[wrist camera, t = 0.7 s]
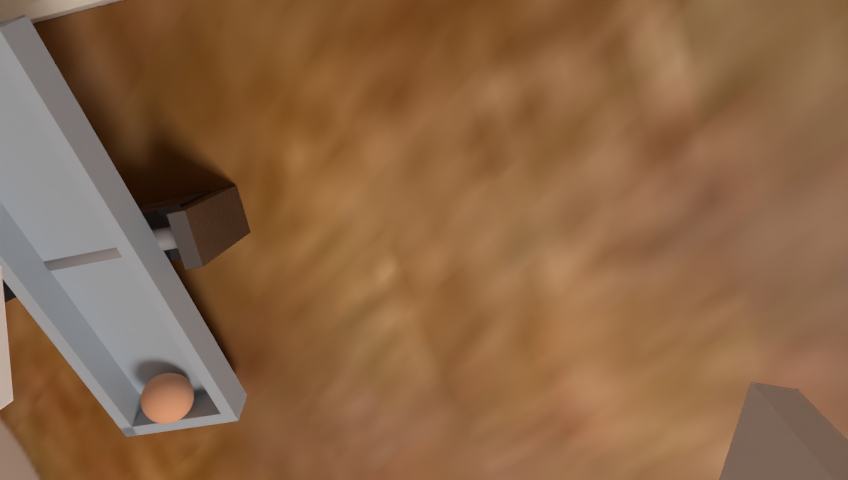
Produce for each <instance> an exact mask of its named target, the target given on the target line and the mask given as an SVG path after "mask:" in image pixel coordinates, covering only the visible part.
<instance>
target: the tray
mask: <svg viewBox="0 0 848 480" xmlns="http://www.w3.org/2000/svg"><path fill="white" fill-rule="evenodd" d="M117 1H121V0H0V21H2V20H6V19H10V18H13V17H17V16H21V15H25V16H28V17H29V19H30V21H31V23H32V24H33V23H37V22H40V21H44V20H48V19H52V18H56V17H60V16H63V15H67V14H71V13H75V12H79V11H83V10H86V9H90V8H94V7H98V6H102V5H106V4H109V3H113V2H117Z"/></svg>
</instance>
